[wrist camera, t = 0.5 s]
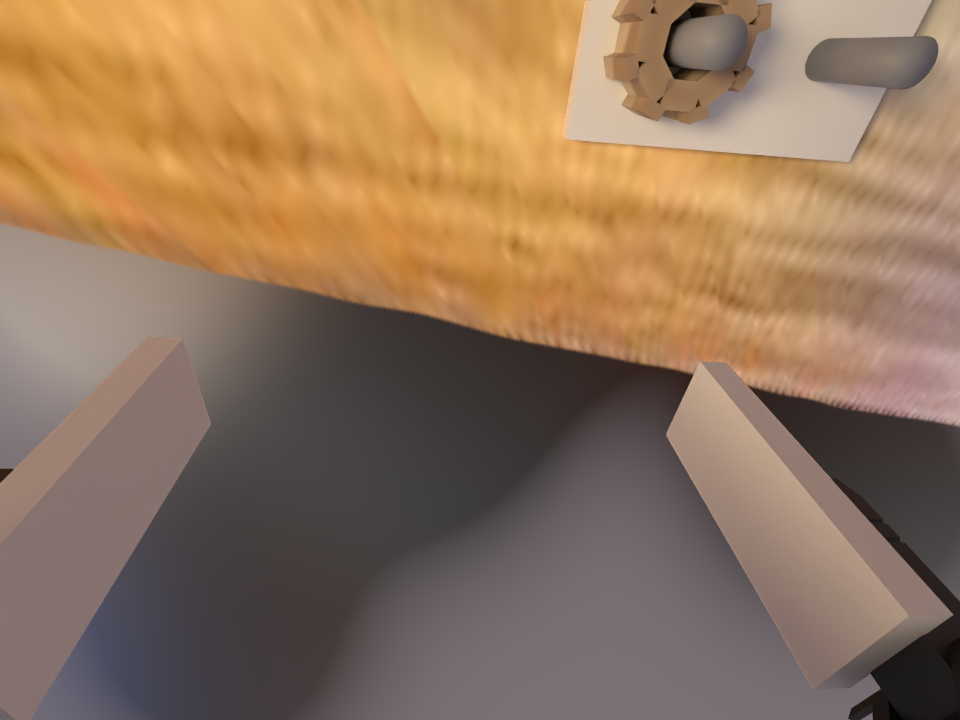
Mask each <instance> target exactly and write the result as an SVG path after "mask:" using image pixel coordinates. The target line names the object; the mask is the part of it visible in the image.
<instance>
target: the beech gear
mask: <svg viewBox="0 0 960 720" xmlns="http://www.w3.org/2000/svg"><path fill="white" fill-rule="evenodd" d="M686 10H689V12H690V15H691V17H692V18H698V17H707V16H715V15H724V14H736V15H739V16H740V17H741V18H742V19H743V20H744V21H745V23H746V26H747V31H748V36H747V42H746V46H745V48H744V50H743V52H742V54H741V56H740V57H739V58H738V59H737V61H736V62H735V63H734V64H732V65H731V66H730V67H728V68H726V69H724V70H719V71H713V70H702V69H690V68H681V69H680V70H678V71H677V72H676V73H675V74H674V75H672V74H671V72H670V70H669V68H668V66H667V64H666V62H665V60H664V58H663V53H664V50H665V46H666V42H667V38H668V34H669V30H670V26H671V24H672V23H673V22H674V21H675V20H676V19H677V18H678V17H679V16H681V15H682V14H683V13H684V12H685V11H686ZM771 15H772V3H766V4H759V5H758V4H757V1H756V0H620V1H619V3H618V5H617V7H616V9H615V11H614V13H613V14H612V16H611V17H612V18H613V19H615V20H616V21H617V22H619V23H620V27H619V32H618V37H617V42H616V46H615V51H614V53H612V54H610V55H607V56H605V57H603V59H604V67H605V75H606V78H610V79H615V80H620V81H621V83H622V84H623V86H624V88H625V90H626V92H627V93H628V95H627V96H626V98H625V100H624V101H623V103H622V106H624V107H625V108H627V109H628V110H630V111H631V112H633V113H634V114H637V115H640V116H643V117H646V118H648V119H651V120H654V121H657V122H658V121H659V119H660V117H661V116H662V114H663V116H664V117H667V118H670V119H673V120H677V121H680V122H683V123H686V124H692V123H695V122H698V121H700V120H703V119H706V118H709V111H708V105H709V104H710V103H712V102H713V101H714V100H715V99H717V98H718V97H719V96H720V95H722V94H723V93H724V92H725V91H726V90H727V91H734V92H741V91H742V89H743V88H744V86H745V85H746V84H747V82H748V81H749V79H750V78H751V77H752V75H753V74H754V72H755V71H754V70H752V69H751V68H750V67H749V66H747V63H748V60H749V57H750V54H751V51H752V48H753V45H754V43H755V40H756V37H757V34H758V33H760V32H762V31H765V30H768V29H771Z"/></svg>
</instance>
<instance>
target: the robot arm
mask: <svg viewBox="0 0 960 720" xmlns="http://www.w3.org/2000/svg"><path fill="white" fill-rule="evenodd" d="M210 424H211V423H210V420H209V417H208V414H207V410H206V407H205V404H204V401H203V398H202V395H201V392H200V389H199V386H198V383H197V380H196V377H195V374H194V370H193V367H192V364H191V361H190V358H189V355H188V352H187V349H186V346H185V343H184V340H183V338H169V337H147V338H146V339H145V340H144V341H143V342H142V343H141V344H140V345H139V346H138V347H137V348H136V349H135V350H134V351H133V352H132V353H131V354H130V355H129V356H128V357H127V358H126V359H125V360H124V361H123V362H122V363H121V364H120V365H119V366H118V367H117V368H116V369H115V370H114V371H113V372H112V373H111V374H110V375H109V376H108V377H107V378H106V379H105V380H104V381H103V382H102V383H101V384H100V385H99V386H98V387H97V388H96V389H95V390H94V391H93V392H92V393H91V394H90V395H89V396H88V397H87V398H86V399H85V400H84V401H83V402H82V403H81V404H80V405H79V406H78V407H77V408H76V409H75V410H74V411H73V412H72V413H71V414H70V415H69V416H68V417H66V418H65V419H64V420H63V421H62V423H60V425H58V426H57V428H55V429H54V430H53V431H52V433H50V434H49V435H48V436H47V437H46V438H45V439H44V440H43V441H42V442H41V443H40V444H39V445H38V446H37V448H35V449H34V450H33V451H32V452H31V453H30V454H29V455H28V456H27V457H26V458H25V459H24V460H23V461H22V462H21V463H20V464H19V465H18V466H17V467H16V468H15V469H0V720H30V719H31V718H32V716H33V714H34V713H35V711H36V709H37V708H38V706H39V705H40V703H41V701H42V700H43V698H44V696H45V695H46V693H47V691H48V690H49V688H50V687H51V685H52V683H53V682H54V680H55V678H56V677H57V675H58V673H59V672H60V670H61V668H62V667H63V665H64V664H65V662H66V660H67V659H68V657H69V655H70V654H71V652H72V650H73V649H74V647H75V645H76V644H77V642H78V641H79V639H80V637H81V636H82V634H83V632H84V631H85V629H86V627H87V626H88V624H89V623H90V621H91V619H92V618H93V616H94V614H95V613H96V611H97V610H98V608H99V606H100V605H101V603H102V601H103V600H104V598H105V596H106V595H107V593H108V591H109V590H110V588H111V586H112V585H113V583H114V582H115V580H116V578H117V577H118V575H119V573H120V572H121V570H122V568H123V567H124V565H125V564H126V562H127V560H128V559H129V557H130V555H131V554H132V552H133V551H134V549H135V547H136V545H137V544H138V542H139V541H140V539H141V537H142V536H143V534H144V532H145V531H146V529H147V528H148V526H149V524H150V523H151V520H152V519H153V518H154V516H155V514H156V513H157V511H158V509H159V508H160V506H161V504H162V503H163V501H164V500H165V498H166V496H167V495H168V493H169V491H170V490H171V488H172V487H173V485H174V483H175V482H176V480H177V478H178V477H179V475H180V473H181V472H182V470H183V469H184V467H185V465H186V463H187V462H188V460H189V459H190V457H191V455H192V454H193V452H194V451H195V449H196V447H197V446H198V444H199V442H200V441H201V439H202V437H203V436H204V434H205V432H206V431H207V429H208V427H209V426H210ZM666 436H667V438H668V439H669V441H670V443H671V444H672V446H673V448H674V450H675V451H676V453H677V455H678V457H679V458H680V460H681V462H682V464H683V465H684V467H685V468H686V471H687V472H688V474H689V476H690V477H691V479H692V481H693V482H694V484H695V486H696V488H697V490H698V491H699V493H700V495H701V496H702V498H703V500H704V502H705V503H706V505H707V507H708V508H709V510H710V512H711V513H712V515H713V517H714V519H715V521H716V522H717V524H718V526H719V527H720V529H721V531H722V532H723V534H724V536H725V538H726V540H727V541H728V543H729V545H730V546H731V548H732V550H733V552H734V553H735V555H736V557H737V559H738V560H739V562H740V564H741V566H742V567H743V569H744V571H745V573H746V574H747V576H748V578H749V579H750V581H751V583H752V585H753V586H754V588H755V590H756V592H757V593H758V595H759V597H760V598H761V600H762V602H763V603H764V605H765V607H766V609H767V610H768V612H769V614H770V616H771V617H772V619H773V621H774V623H775V625H776V626H777V628H778V630H779V631H780V633H781V635H782V636H783V638H784V640H785V642H786V643H787V645H788V647H789V649H790V650H791V652H792V654H793V655H794V657H795V659H796V661H797V663H798V664H799V666H800V668H801V669H802V671H803V673H804V675H805V676H806V678H807V680H808V682H809V683H810V685H811V687H812V689H813V690H814V689H834V688H835V689H836V688H851V687H852V686H853V685H855V684H856V683H858V682H859V681H860V680H862V679H863V678H865V677H866V676H868V675H869V674H870V673H871V675H872V676H873V678H874V679H875V681H876V682H877V684H878V685H879V686H880V688H881V689H880V690H879V691H877V692H876V693H874V694H873V695H871V696H870V697H868V698H867V699H865V700H863V701H862V702H861V703H859V704H858V705H856V706H854V707H853V708H851V711H850V714H849V718H848V719H850V720H861V719H862V718H864V717H866V716H867V715H869V714H871V713H872V712H873V720H960V601H959V600H958V599H957V598H956V597H955V596H954V595H953V594H952V593H951V592H950V591H949V590H948V588H947V587H946V586H945V585H944V584H943V583H942V582H941V581H940V580H939V579H938V578H937V577H936V576H935V575H934V573H933V572H932V571H931V570H930V569H929V568H928V567H927V566H926V565H925V564H924V563H923V562H922V561H921V560H920V559H919V557H918V556H917V555H916V554H915V553H914V552H913V551H912V550H911V549H910V548H909V547H908V546H907V545H906V543H902V542H901V541H900V537H899V536H898V535H897V534H896V533H895V532H894V531H893V530H892V529H891V527H890V526H889V525H887V524H884V523H883V519H882V518H881V517H880V516H879V515H878V513H877V512H876V511H875V510H874V509H873V508H872V507H871V506H870V505H869V504H868V503H867V502H866V501H865V500H864V498H863V497H861V496H860V495H859V494H857V493H855V492H854V491H853V490H852V489H850V488H849V487H848V486H846V485H845V484H844V483H842V482H841V481H839V480H838V479H837V478H830V477H829V476H828V475H827V474H826V473H825V472H824V471H823V470H822V468H821V467H820V466H819V465H818V464H817V463H816V462H815V461H814V459H813V458H812V457H811V456H810V455H809V454H808V453H807V452H806V451H805V449H804V448H803V447H802V446H801V445H800V444H799V443H798V442H797V441H796V439H795V438H794V437H793V436H792V435H791V434H790V433H789V432H788V431H787V429H786V428H785V427H784V426H783V425H782V424H781V423H780V422H779V421H778V420H777V418H776V417H775V416H774V415H773V414H772V413H771V412H770V411H769V410H768V408H767V407H766V406H765V405H764V404H763V403H762V402H761V401H760V399H759V398H758V397H757V396H756V395H755V394H754V393H753V392H752V391H751V389H750V388H749V387H748V386H747V385H746V384H745V383H744V382H743V381H742V379H741V378H740V377H739V376H738V375H737V374H736V373H735V372H734V371H733V369H732V368H731V367H730V366H729V365H728V364H727V363H723V362H701V361H700V363H699V365H698V367H697V369H696V371H695V374H694V376H693V378H692V380H691V382H690V384H689V387H688V389H687V391H686V393H685V395H684V397H683V400H682V402H681V404H680V406H679V408H678V410H677V412H676V414H675V417H674V419H673V421H672V423H671V425H670V427H669V429H668V432H667V434H666Z"/></svg>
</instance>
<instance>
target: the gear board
mask: <svg viewBox="0 0 960 720" xmlns="http://www.w3.org/2000/svg"><path fill="white" fill-rule="evenodd" d="M619 1H620V0H585V4H584V10H583V16H582V22H581V28H580V34H579V40H578V46H577V52H576V57H575V63H574V69H573V75H572V81H571V87H570V93H569V99H568V105H567V111H566V117H565V123H564V129H563V135H562V136H563V137H564V138H566V139H568V140H580V141H593V142H605V143H617V144H630V145H642V146H655V147H667V148H680V149H692V150H705V151H717V152H729V153H742V154H754V155H767V156H779V157H792V158H804V159H817V160H829V161H841V162H849V161H850V159H851V157H852V155H853V153H854V151H855V149H856V147H857V145H858V143H859V141H860V139H861V137H862V136H863V134H864V132H865V130H866V128H867V126H868V124H869V122H870V120H871V118H872V116H873V114H874V112H875V110H876V108H877V106H878V104H879V102H880V100H881V99H882V97H883V95H884V93H885V91H886V89H887V88H892V89H907V88H910V87H912V86H914V85H916V84H917V83H919V82H920V81H921V80H922V79H923V78H924V77H925V76H926V75H927V74H928V73H929V72H930V70H931V69H932V67H933V65H934V63H935V61H936V59H937V55H938V44H937V42H936V40H935V39H934V38H932V37H929V36H915V37H913V36H914V34H915V32H916V30H917V28H918V27H919V25H920V23H921V21H922V19H923V17H924V15H925V13H926V11H927V9H928V7H929V5H930V3H931V1H932V0H756V1H757V4H758V5H759V4H766V3H772V15H771V29H768V30H765V31H762V32H760V33H758V34H757V37H756V40H755V43H754V45H753V48H752V51H751V54H750V57H749V60H748V63H747V66H749V67H750V68H751V69H752V70H754V71H755V72H754V74H753V75H752V77H751V78H750V79H749V81H748V82H747V84H746V85H745V86H744V88H743V89H742V91H741V92H734V91H727V90H726V91H725V92H724V93H723V94H722V95H720V96H719V97H718V98H717V99H715V100H714V101H713V102H712V103H710V104H709V105H708V111H709V118H706V119H703V120H700V121H698V122H695V123H692V124H686V123H683V122H680V121H677V120H673V119H670V118H667V117H664V116H663V114H662V116H661V117H660V119H659V121H658V122H657V121H654V120H651V119H648V118H646V117H643V116H640V115H637V114H634V113H633V112H631V111H630V110H628V109H627V108H625V107H624V106H622V103H623V101H624V100H625V98H626V96H627V95H628V93H627V92H626V90H625V88H624V86H623V84H622V83H621V81H620V80H615V79H610V78H606V75H605V67H604V59H603V57H605V56H607V55H610V54H612V53H614V51H615V46H616V42H617V37H618V32H619V27H620V23H619V22H617V21H616V20H615V19H613V18H612V17H611V16H612V14H613V13H614V11H615V9H616V7H617V5H618V3H619ZM747 36H748V31H747V26H746V23H745V21H744V20H743V19H742V18H741V17H740V16H739V15H736V14H724V15H715V16H707V17H698V18H692V17H691V15H690V12H689V10H686V11H685V12H684V13H683V14H682V15H681V16H679V17H678V18H677V19H676V20H675V21H674V22H673V23H672V24H671V26H670V30H669V34H668V38H667V42H666V46H665V50H664V53H663V58H664V60H665V62H666V64H667V66H668V68H669V70H670V72H671V74H672V75H674V74H675V73H676V72H677V71H678V70H680V69H681V68H690V69H702V70H713V71H719V70H724V69H726V68H728V67H730V66H731V65H732V64H734V63H735V62H736V61H737V59H738V58H739V57H740V56H741V54H742V52H743V50H744V48H745V46H746V42H747Z"/></svg>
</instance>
